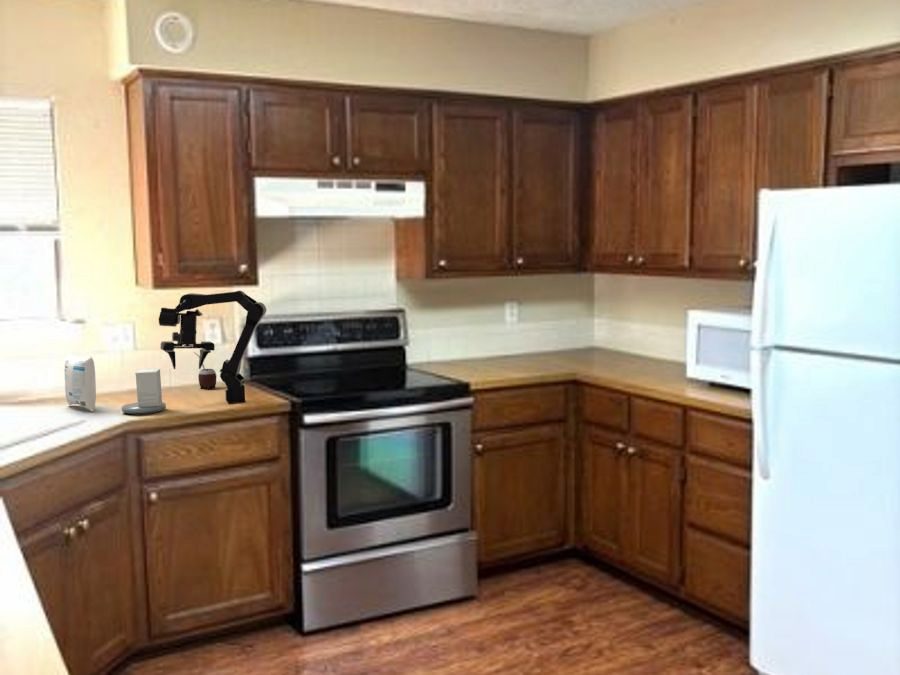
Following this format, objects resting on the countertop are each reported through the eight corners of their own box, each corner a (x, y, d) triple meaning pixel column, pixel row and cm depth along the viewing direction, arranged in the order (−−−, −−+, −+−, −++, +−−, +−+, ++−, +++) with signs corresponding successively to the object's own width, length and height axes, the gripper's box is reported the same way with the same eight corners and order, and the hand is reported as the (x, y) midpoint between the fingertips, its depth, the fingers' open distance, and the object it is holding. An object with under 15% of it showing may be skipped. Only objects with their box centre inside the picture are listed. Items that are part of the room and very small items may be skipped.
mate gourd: (217, 389, 363) (216, 353, 361) (197, 391, 360) (196, 354, 358) (215, 386, 370) (213, 350, 368) (195, 388, 367) (194, 352, 365)
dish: (164, 406, 330) (164, 400, 329) (167, 413, 316) (167, 407, 315) (121, 409, 324) (121, 403, 324) (122, 417, 310) (122, 411, 310)
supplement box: (162, 402, 324) (160, 368, 323) (158, 406, 317) (156, 371, 316) (141, 403, 324) (139, 369, 322) (137, 407, 316) (135, 372, 315)
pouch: (81, 413, 318) (77, 358, 315) (60, 406, 331) (57, 353, 329) (103, 410, 323) (99, 355, 321) (82, 403, 337) (79, 351, 334)
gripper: (208, 325, 343) (207, 365, 345) (158, 324, 334) (157, 366, 336) (215, 328, 333) (214, 369, 335) (164, 328, 324) (162, 370, 326)
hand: (187, 368), depth 333 cm, fingers open, 9 cm apart
